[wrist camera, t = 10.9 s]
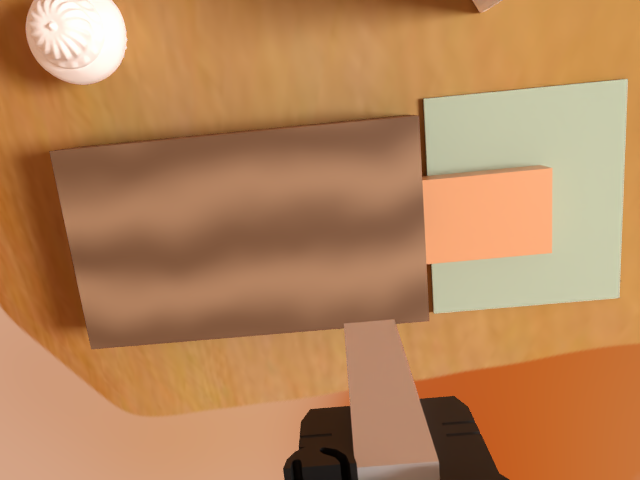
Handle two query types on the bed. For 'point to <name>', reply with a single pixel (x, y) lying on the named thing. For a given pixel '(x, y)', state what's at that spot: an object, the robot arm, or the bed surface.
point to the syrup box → (485, 4)
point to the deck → (247, 231)
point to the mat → (567, 189)
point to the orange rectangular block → (488, 214)
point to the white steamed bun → (77, 38)
